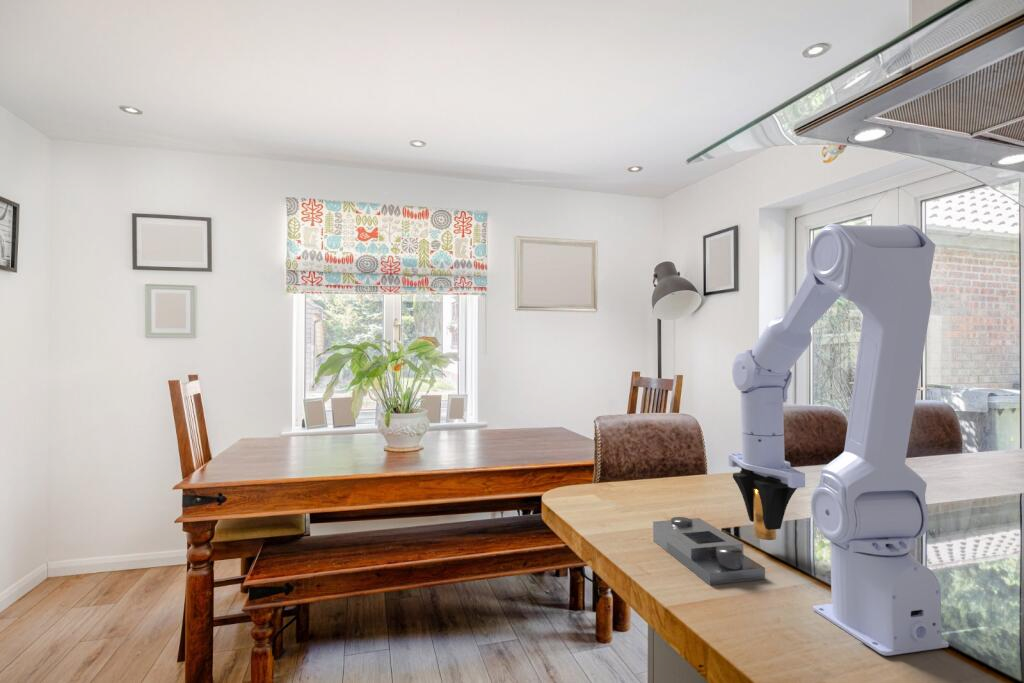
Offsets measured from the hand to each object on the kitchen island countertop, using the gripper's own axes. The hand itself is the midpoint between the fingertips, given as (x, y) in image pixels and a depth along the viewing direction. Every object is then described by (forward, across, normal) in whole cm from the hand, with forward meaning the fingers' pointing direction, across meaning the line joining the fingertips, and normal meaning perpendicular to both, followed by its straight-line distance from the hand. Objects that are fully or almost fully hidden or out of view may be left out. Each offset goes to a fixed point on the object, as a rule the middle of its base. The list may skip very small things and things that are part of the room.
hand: (764, 524), depth 77 cm
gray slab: (+4, 0, +10) cm, 11 cm away
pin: (+2, 0, 0) cm, 2 cm away
